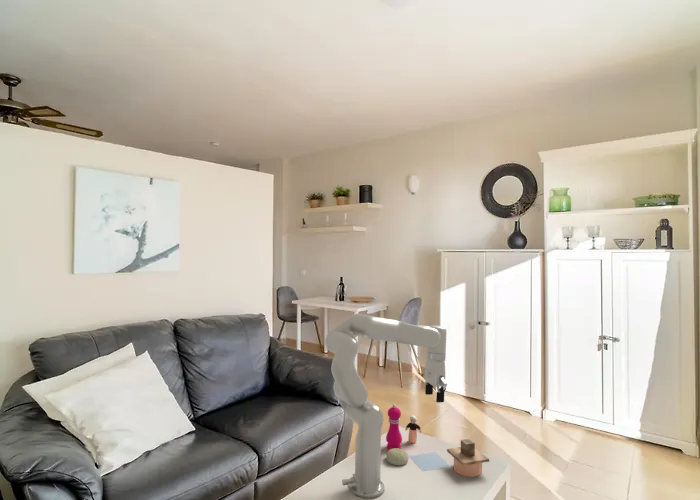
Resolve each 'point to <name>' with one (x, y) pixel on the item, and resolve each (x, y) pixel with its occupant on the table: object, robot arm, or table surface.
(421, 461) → the mat
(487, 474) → the table surface
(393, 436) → the pepper mill
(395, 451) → the sea urchin shell
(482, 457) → the lid
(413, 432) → the grandmother figurine
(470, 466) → the bowl
